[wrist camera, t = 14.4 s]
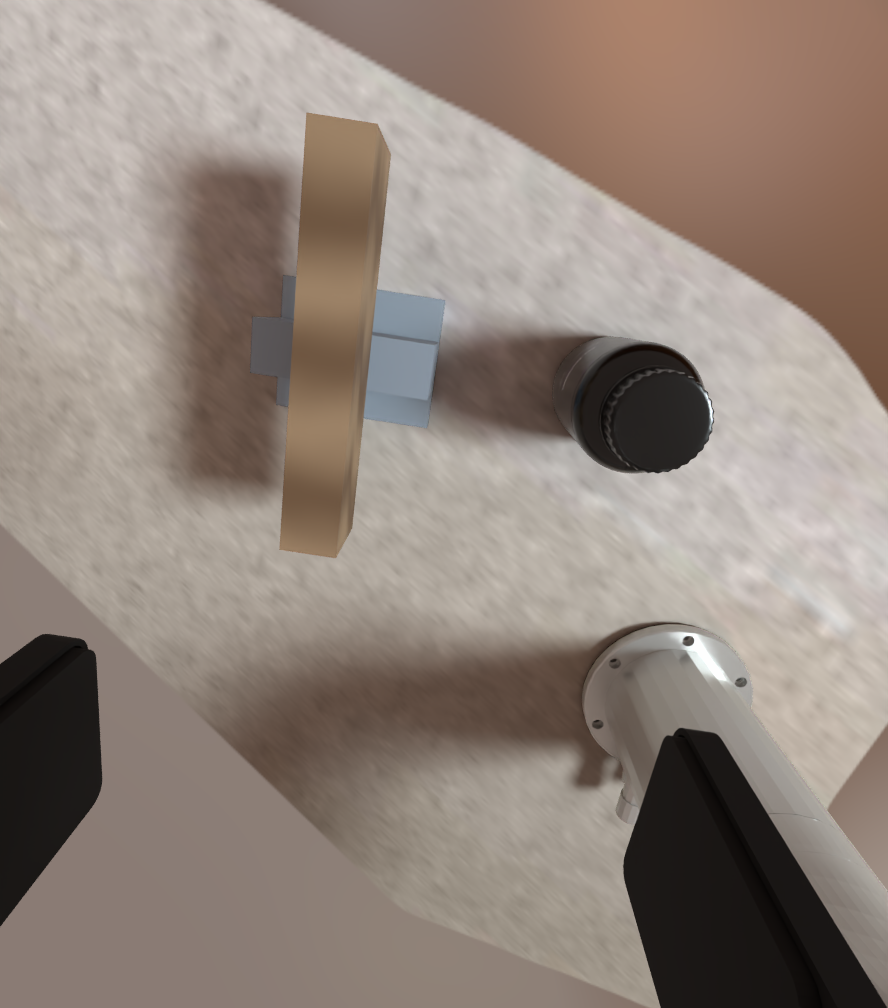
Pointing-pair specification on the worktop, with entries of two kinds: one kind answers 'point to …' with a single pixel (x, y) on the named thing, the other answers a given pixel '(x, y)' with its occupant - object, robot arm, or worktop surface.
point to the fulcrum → (393, 356)
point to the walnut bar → (332, 328)
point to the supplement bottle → (633, 404)
